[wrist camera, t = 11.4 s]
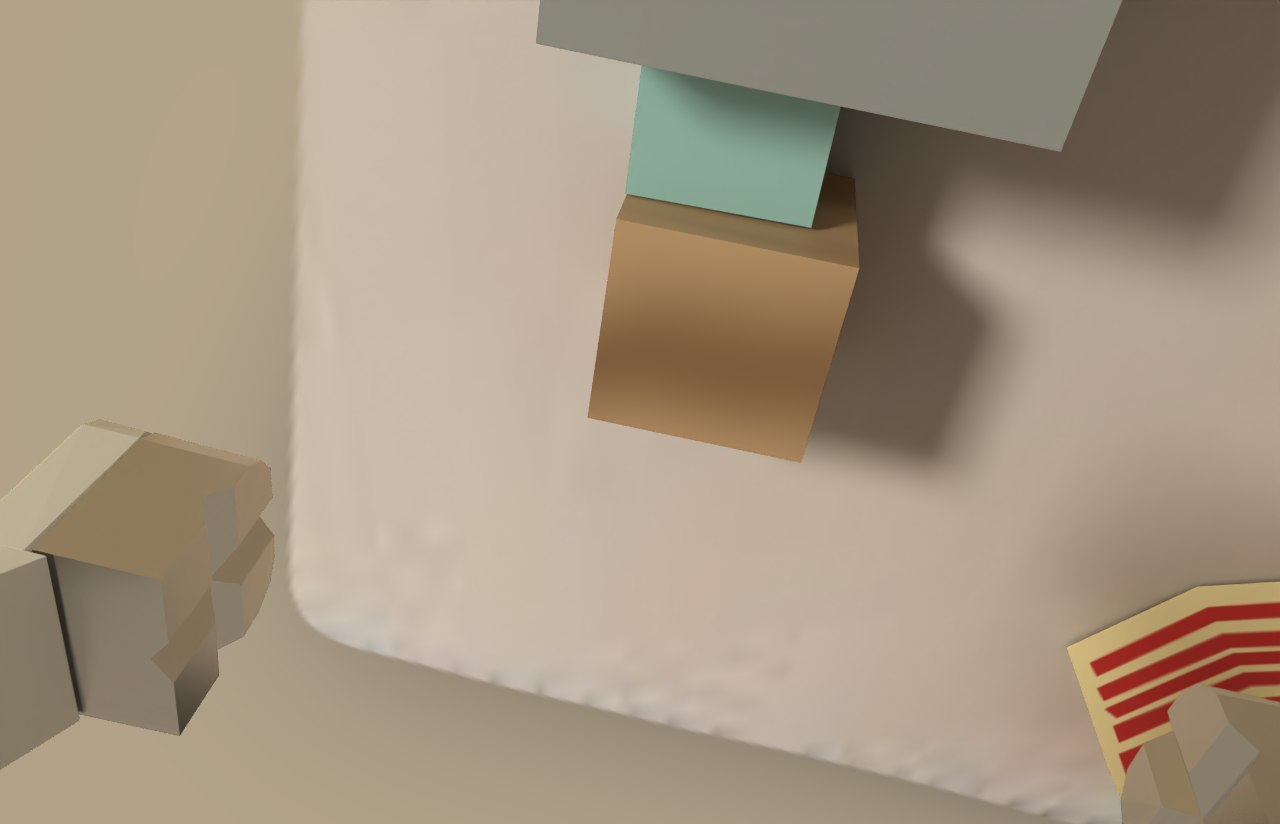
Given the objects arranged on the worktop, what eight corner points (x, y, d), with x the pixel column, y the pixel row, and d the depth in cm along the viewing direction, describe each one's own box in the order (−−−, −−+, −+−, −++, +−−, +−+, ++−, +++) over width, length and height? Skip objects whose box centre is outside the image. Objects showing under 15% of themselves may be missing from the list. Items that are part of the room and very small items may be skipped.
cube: (651, 137, 25) (616, 218, 21) (854, 178, 25) (859, 268, 21) (623, 315, 28) (587, 417, 24) (805, 352, 28) (801, 462, 24)
